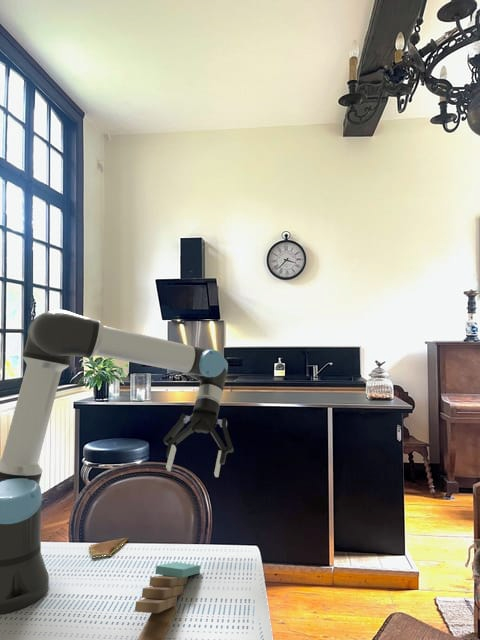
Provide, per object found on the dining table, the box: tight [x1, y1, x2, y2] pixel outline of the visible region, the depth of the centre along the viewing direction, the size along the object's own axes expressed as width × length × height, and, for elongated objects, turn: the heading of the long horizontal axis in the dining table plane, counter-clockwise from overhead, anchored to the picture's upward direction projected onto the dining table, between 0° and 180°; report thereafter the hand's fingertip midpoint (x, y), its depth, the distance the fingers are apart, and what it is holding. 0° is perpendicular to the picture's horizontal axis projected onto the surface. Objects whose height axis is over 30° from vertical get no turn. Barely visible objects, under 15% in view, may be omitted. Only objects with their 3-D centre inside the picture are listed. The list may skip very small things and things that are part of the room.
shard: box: [87, 536, 129, 559], centre depth 118 cm, size 11×8×2 cm
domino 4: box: [134, 595, 178, 614], centre depth 88 cm, size 4×2×11 cm
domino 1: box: [154, 561, 201, 578], centre depth 102 cm, size 6×2×11 cm
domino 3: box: [141, 585, 184, 599], centre depth 92 cm, size 4×2×11 cm
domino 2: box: [148, 575, 189, 588], centre depth 97 cm, size 4×2×11 cm
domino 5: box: [137, 605, 178, 640], centre depth 85 cm, size 4×2×11 cm
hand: (191, 472), depth 121 cm, fingers open, 13 cm apart
